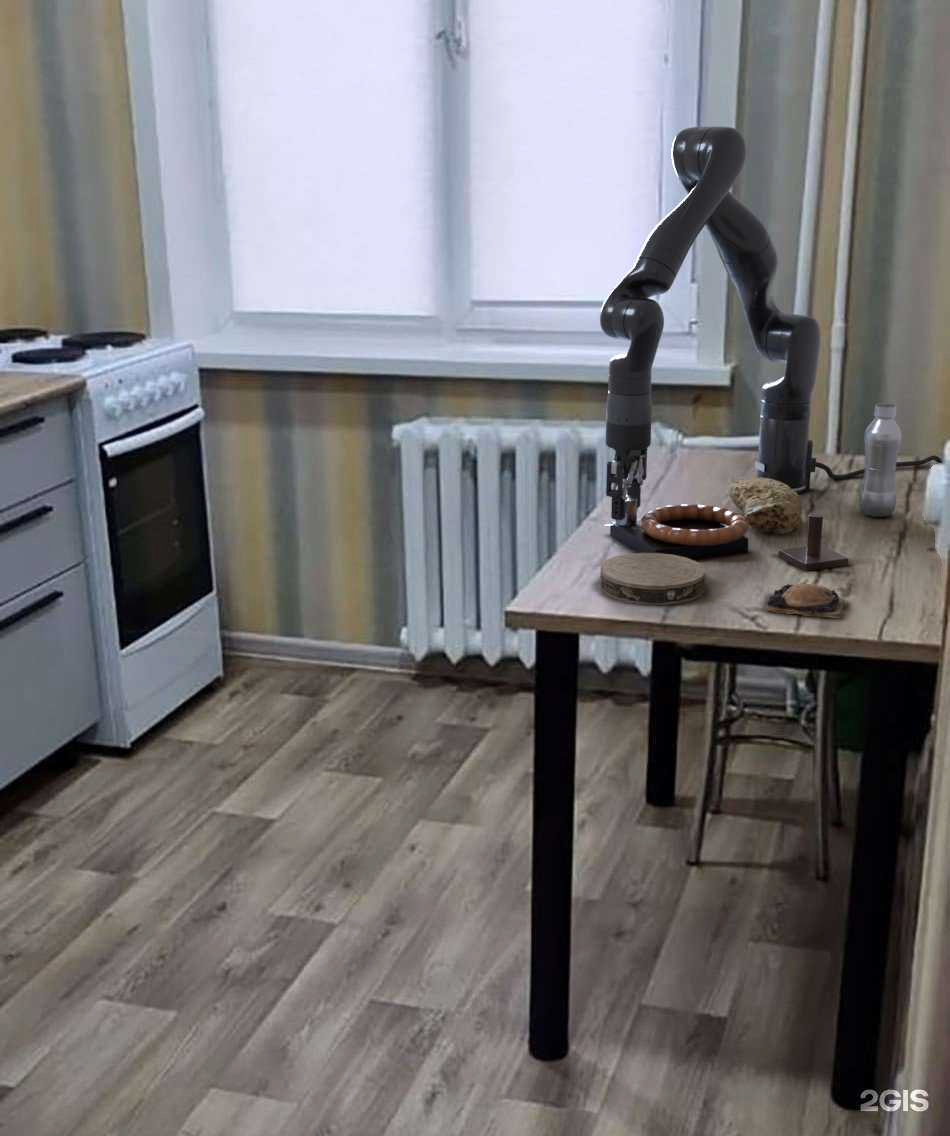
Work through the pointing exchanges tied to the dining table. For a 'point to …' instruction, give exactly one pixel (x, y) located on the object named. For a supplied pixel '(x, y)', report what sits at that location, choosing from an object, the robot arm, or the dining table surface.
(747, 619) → the dining table surface
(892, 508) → the plastic bottle
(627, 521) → the hob knob
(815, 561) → the peg
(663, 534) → the brown segmented ring
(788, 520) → the sponge
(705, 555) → the hob
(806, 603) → the bread roll
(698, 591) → the tan disc
